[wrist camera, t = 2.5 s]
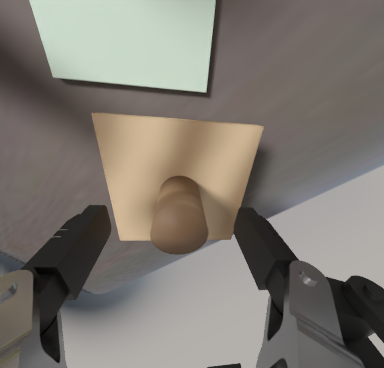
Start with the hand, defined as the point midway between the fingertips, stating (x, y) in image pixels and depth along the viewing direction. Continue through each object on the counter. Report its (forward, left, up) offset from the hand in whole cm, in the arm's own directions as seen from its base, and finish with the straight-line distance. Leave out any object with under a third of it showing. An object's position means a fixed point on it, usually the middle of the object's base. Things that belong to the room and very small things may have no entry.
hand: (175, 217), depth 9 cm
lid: (0, 0, -4) cm, 4 cm away
